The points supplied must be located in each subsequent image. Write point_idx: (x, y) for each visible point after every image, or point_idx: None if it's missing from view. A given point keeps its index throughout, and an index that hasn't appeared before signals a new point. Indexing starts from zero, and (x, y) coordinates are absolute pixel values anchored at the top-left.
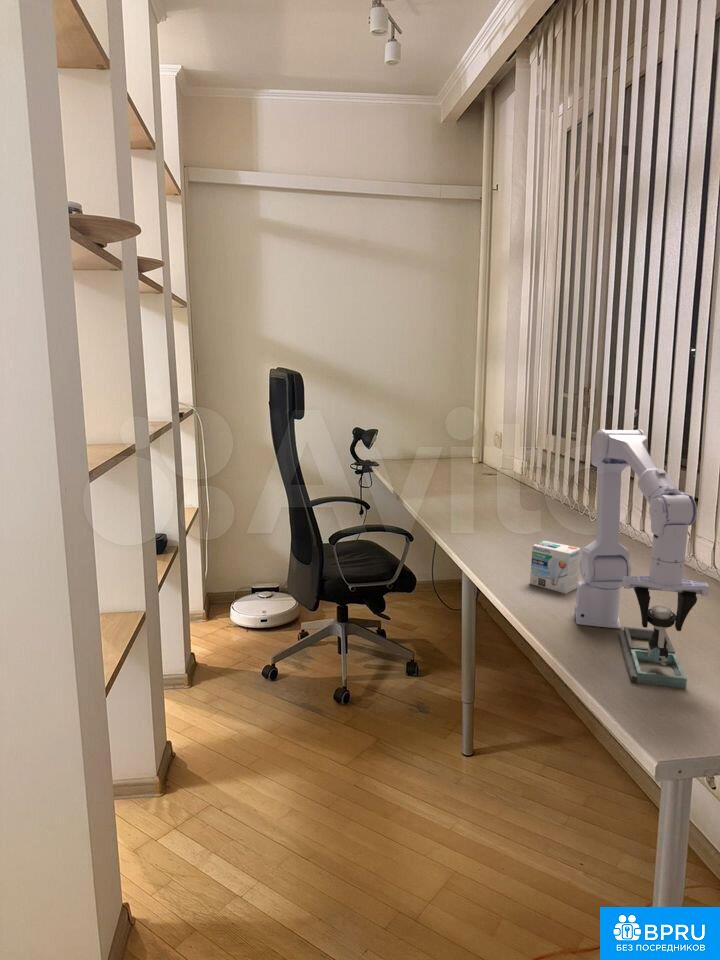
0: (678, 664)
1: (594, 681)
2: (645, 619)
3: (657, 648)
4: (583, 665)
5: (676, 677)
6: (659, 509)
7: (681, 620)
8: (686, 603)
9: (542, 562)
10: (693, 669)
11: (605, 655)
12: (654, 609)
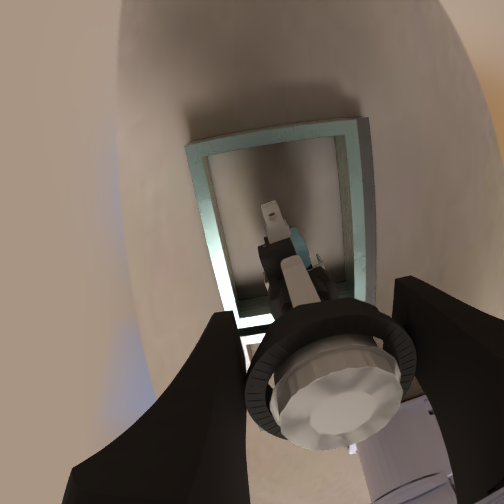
0: (217, 255)
1: (449, 91)
2: (434, 293)
3: (303, 259)
4: (470, 186)
5: (220, 138)
6: None
7: (208, 350)
8: (158, 468)
9: None
10: (178, 294)
11: (414, 275)
12: (388, 397)
